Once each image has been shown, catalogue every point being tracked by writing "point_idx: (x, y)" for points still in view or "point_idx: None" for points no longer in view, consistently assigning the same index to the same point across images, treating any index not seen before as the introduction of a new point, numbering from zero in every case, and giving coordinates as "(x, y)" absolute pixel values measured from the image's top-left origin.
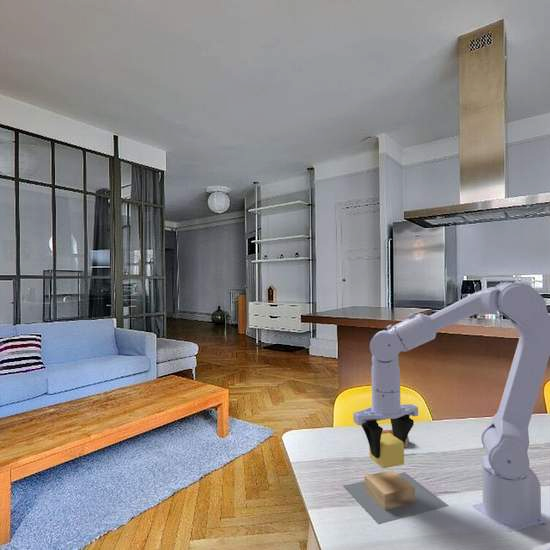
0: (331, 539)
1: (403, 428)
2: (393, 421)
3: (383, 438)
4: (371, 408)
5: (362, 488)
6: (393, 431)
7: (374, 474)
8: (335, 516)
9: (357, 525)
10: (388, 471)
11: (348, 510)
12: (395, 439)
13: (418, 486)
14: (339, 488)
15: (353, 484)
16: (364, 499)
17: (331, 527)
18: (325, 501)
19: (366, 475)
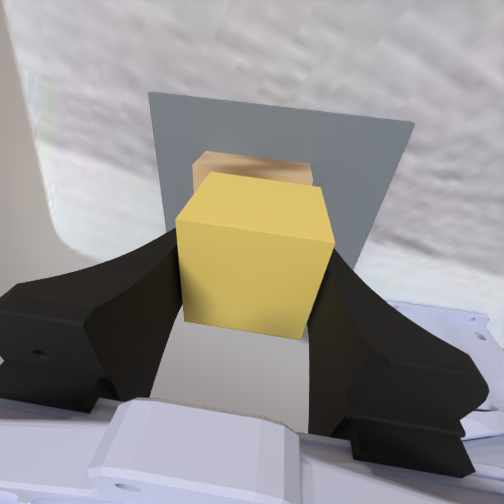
0: (75, 240)
1: (310, 407)
2: (343, 356)
3: (238, 279)
4: (24, 497)
5: (203, 139)
6: (330, 293)
7: (230, 173)
8: (96, 193)
9: (135, 235)
10: (290, 181)
11: (133, 189)
12: (290, 310)
13: (363, 209)
14: (141, 83)
15: (187, 103)
16: (182, 186)
17: (80, 217)
18: (81, 129)
19: (200, 165)
